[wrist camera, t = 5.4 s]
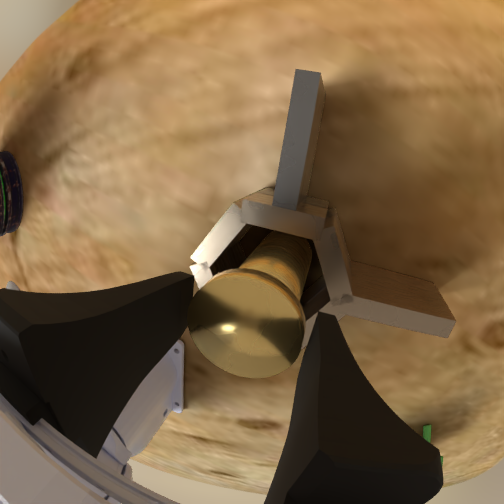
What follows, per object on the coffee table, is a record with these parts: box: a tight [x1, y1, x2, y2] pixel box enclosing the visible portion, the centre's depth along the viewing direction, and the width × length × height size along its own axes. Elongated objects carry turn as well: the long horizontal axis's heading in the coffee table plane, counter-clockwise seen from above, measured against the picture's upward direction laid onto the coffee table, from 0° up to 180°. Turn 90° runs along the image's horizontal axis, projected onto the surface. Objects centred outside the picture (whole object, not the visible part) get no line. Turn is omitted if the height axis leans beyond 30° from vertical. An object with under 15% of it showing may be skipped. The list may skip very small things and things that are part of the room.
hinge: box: [190, 69, 456, 349], centre depth 14 cm, size 13×13×4 cm
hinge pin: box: [187, 230, 312, 378], centre depth 13 cm, size 4×4×8 cm
